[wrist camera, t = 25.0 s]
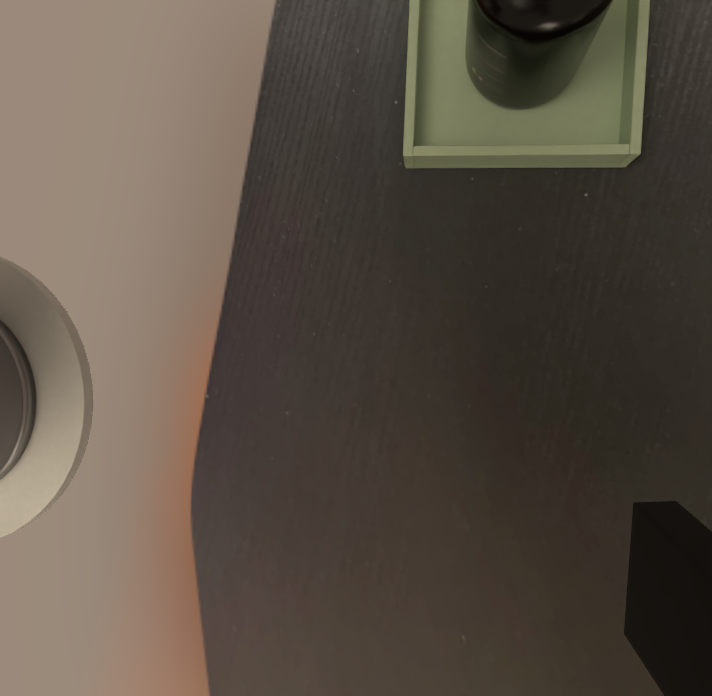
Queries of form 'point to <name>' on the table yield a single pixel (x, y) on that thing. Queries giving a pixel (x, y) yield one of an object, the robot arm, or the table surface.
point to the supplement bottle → (528, 46)
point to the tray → (528, 125)
